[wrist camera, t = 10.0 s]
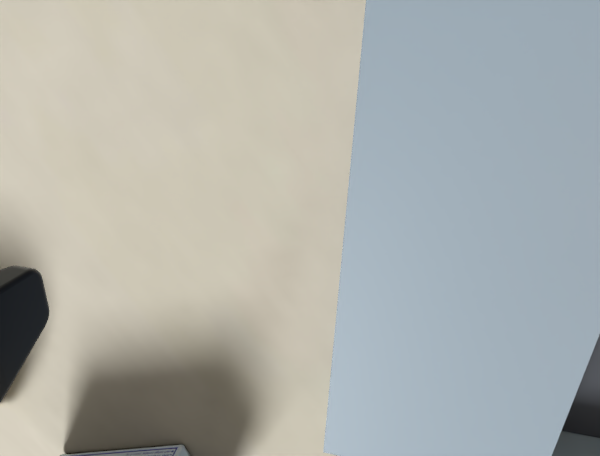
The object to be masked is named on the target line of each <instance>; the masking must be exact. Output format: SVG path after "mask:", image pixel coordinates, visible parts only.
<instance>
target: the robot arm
mask: <svg viewBox="0 0 600 456" xmlns="http://www.w3.org/2000/svg"><path fill="white" fill-rule="evenodd" d="M48 316H49V307H48V302H47V298H46V293H45V289H44V284H43V280H42V276H41V274H40V273H39V271H37V270H35V269H32V268H27V267H21V266H11V267H7V268H5V269H2V270H0V402H1V401H2V399H3V397H4V396H5V394H6V393H7V391H8V389H9V388H10V386H11V384H12V382H13V381H14V379H15V377H16V376H17V374H18V372H19V370H20V369H21V367H22V365H23V363H24V362H25V360H26V358H27V356H28V355H29V353H30V351H31V350H32V348H33V346H34V344H35V343H36V341H37V339H38V337H39V336H40V334H41V332H42V330H43V329H44V327H45V325H46V323H47V320H48Z"/></svg>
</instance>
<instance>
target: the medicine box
mask: <svg viewBox="0 0 600 456" xmlns="http://www.w3.org/2000/svg"><path fill="white" fill-rule="evenodd" d="M60 456H190V454H189V453H188V451H187V449H186V448H185V446H184V445H172V446H161V447H149V448H137V449H125V450H114V451H101V452H89V453H78V454H62V455H60Z"/></svg>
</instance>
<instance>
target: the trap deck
mask: <svg viewBox="0 0 600 456" xmlns="http://www.w3.org/2000/svg"><path fill="white" fill-rule="evenodd" d="M324 452H325V453H329V454H334V455H339V456H600V0H366V8H365V19H364V29H363V40H362V51H361V61H360V72H359V82H358V93H357V103H356V114H355V125H354V135H353V146H352V156H351V167H350V177H349V188H348V198H347V209H346V220H345V230H344V241H343V251H342V262H341V272H340V283H339V294H338V304H337V315H336V325H335V336H334V346H333V357H332V367H331V378H330V389H329V399H328V410H327V420H326V431H325V441H324Z"/></svg>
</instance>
